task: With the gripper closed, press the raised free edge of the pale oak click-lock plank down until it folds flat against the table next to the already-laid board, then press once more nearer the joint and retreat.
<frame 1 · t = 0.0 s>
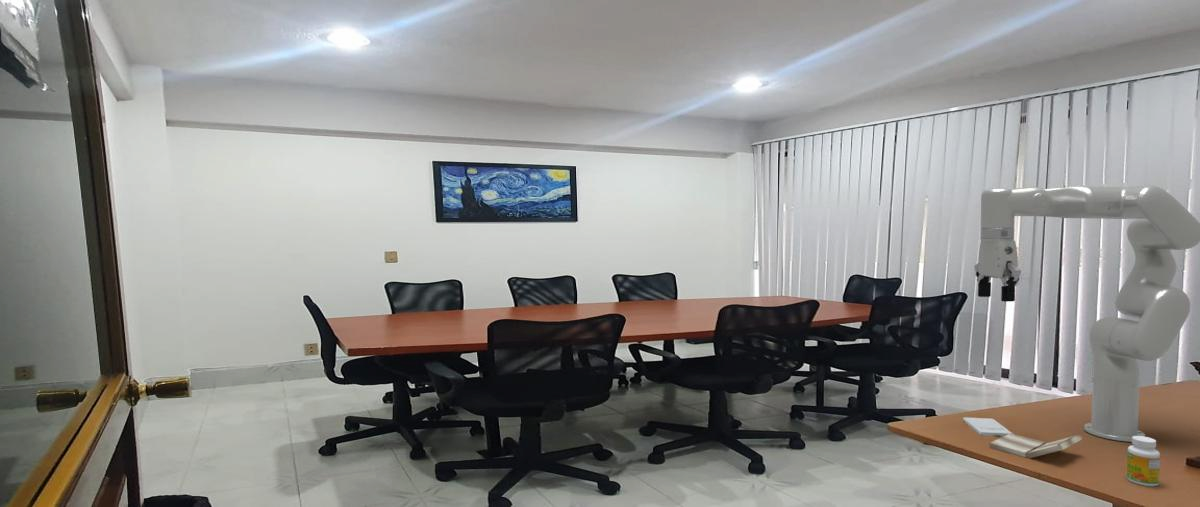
hand: (995, 298, 163), 37 cm above the table, tool pointing down, fingers open, 9 cm apart
laid board: (1017, 447, 156), on the table
supplement bottle: (1142, 482, 135), on the table
external hard drive: (987, 431, 170), on the table
plank: (1054, 445, 149), point 3 cm above the table, hinge at 32.0°
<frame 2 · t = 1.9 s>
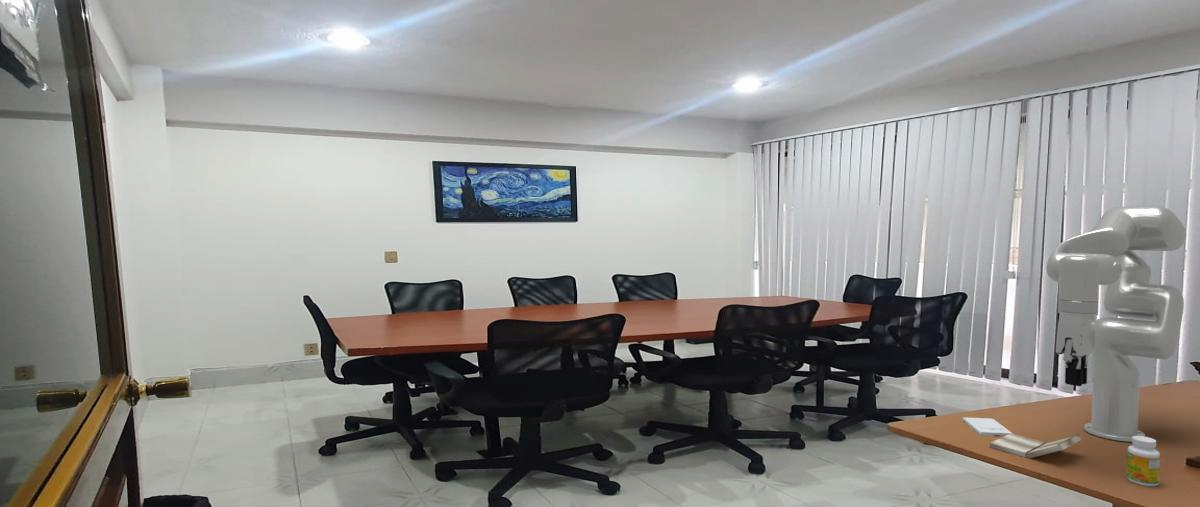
hand: (1075, 383, 145), 19 cm above the table, tool pointing down, fingers closed
nothing on the table moved.
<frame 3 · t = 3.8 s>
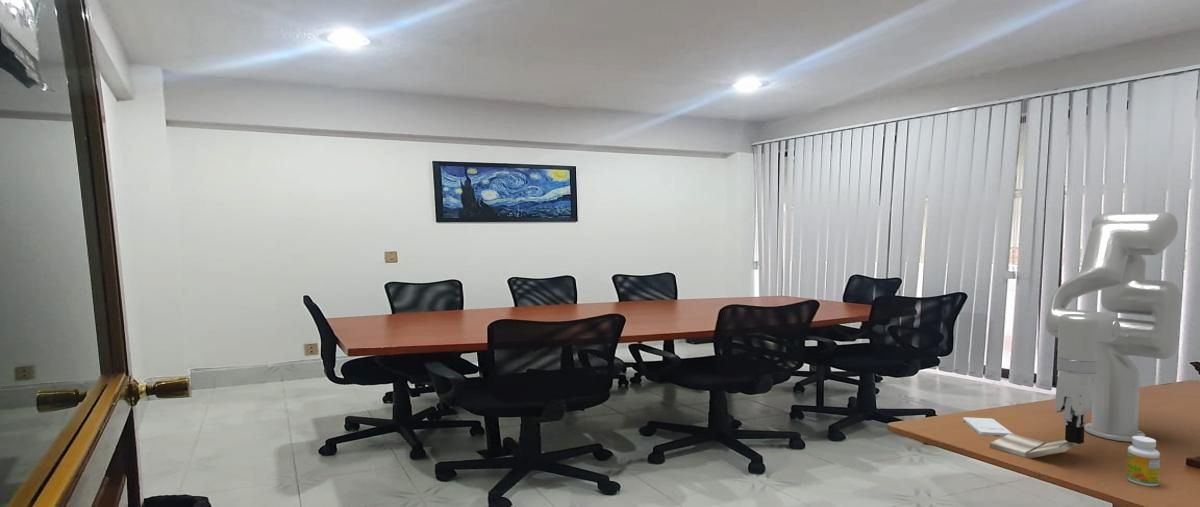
hand: (1074, 441, 146), 5 cm above the table, tool pointing down, fingers closed
plank: (1055, 446, 149), point 3 cm above the table, hinge at 28.4°, touching gripper
everything else where it was.
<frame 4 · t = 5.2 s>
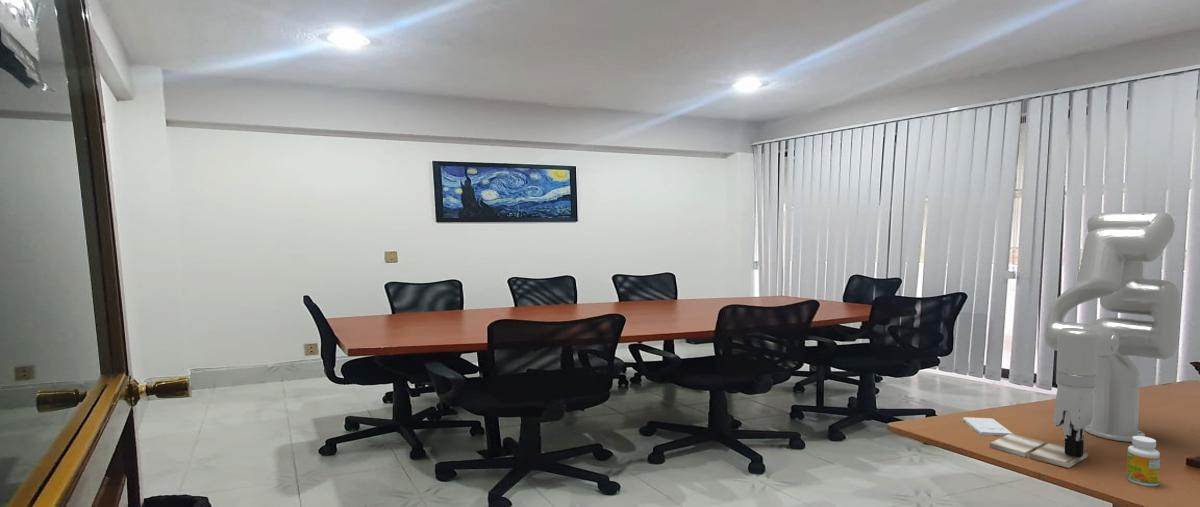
hand: (1073, 455, 146), 2 cm above the table, tool pointing down, fingers closed
plank: (1058, 454, 149), point 1 cm above the table, hinge at 1.9°, touching gripper
everything else where it was.
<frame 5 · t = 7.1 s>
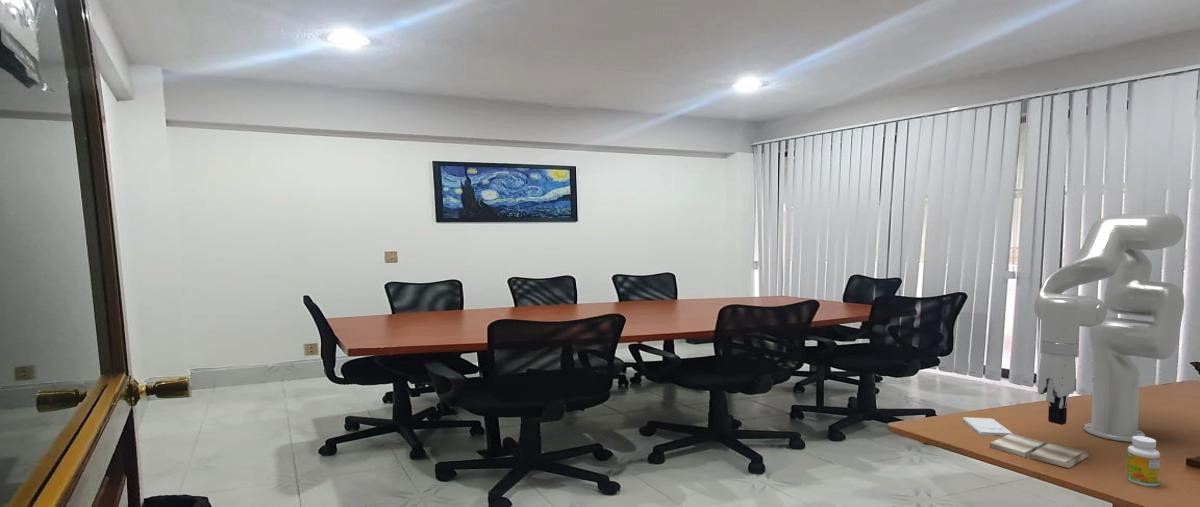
hand: (1057, 422, 149), 9 cm above the table, tool pointing down, fingers closed
plank: (1059, 454, 149), point 1 cm above the table, hinge at 1.7°
everything else where it was.
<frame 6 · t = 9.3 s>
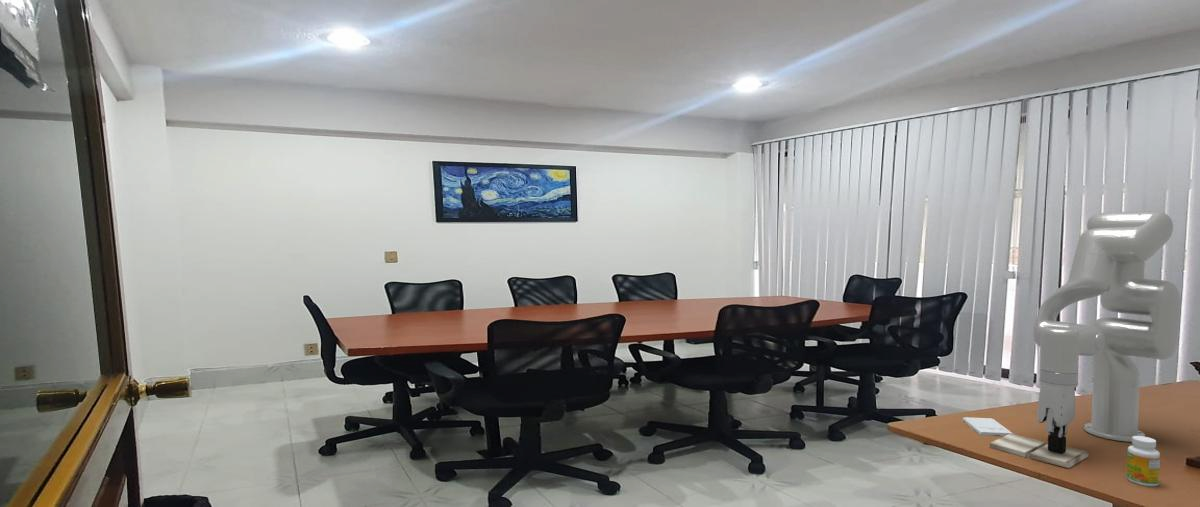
hand: (1056, 451, 149), 2 cm above the table, tool pointing down, fingers closed
nothing on the table moved.
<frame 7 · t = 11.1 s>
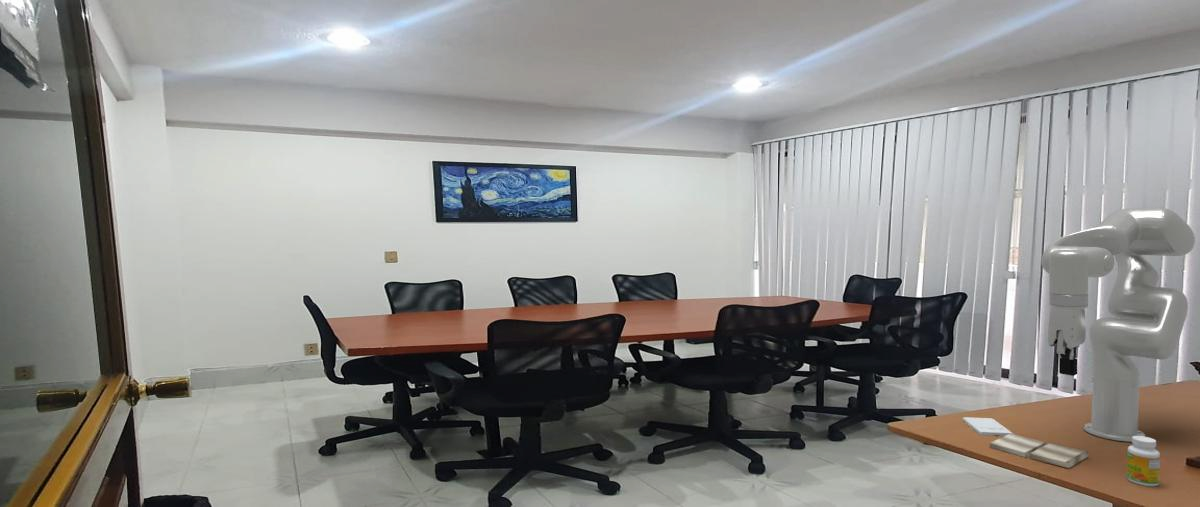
hand: (1068, 373, 150), 20 cm above the table, tool pointing down, fingers closed
nothing on the table moved.
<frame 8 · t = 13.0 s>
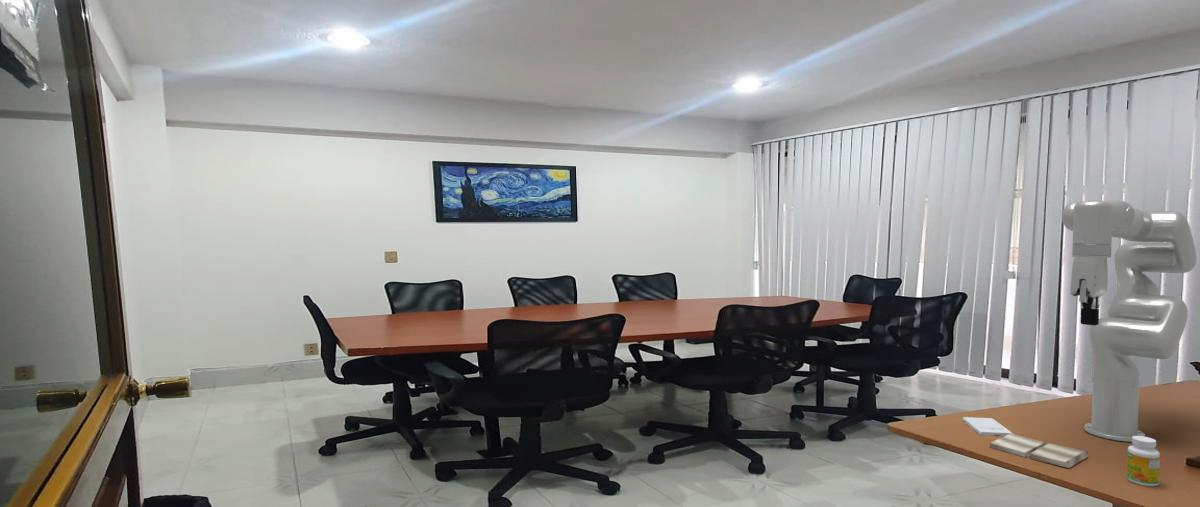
hand: (1089, 324, 152), 32 cm above the table, tool pointing down, fingers closed
nothing on the table moved.
at the end: plank at +2° (first picture: +32°); the gripper is holding nothing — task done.
